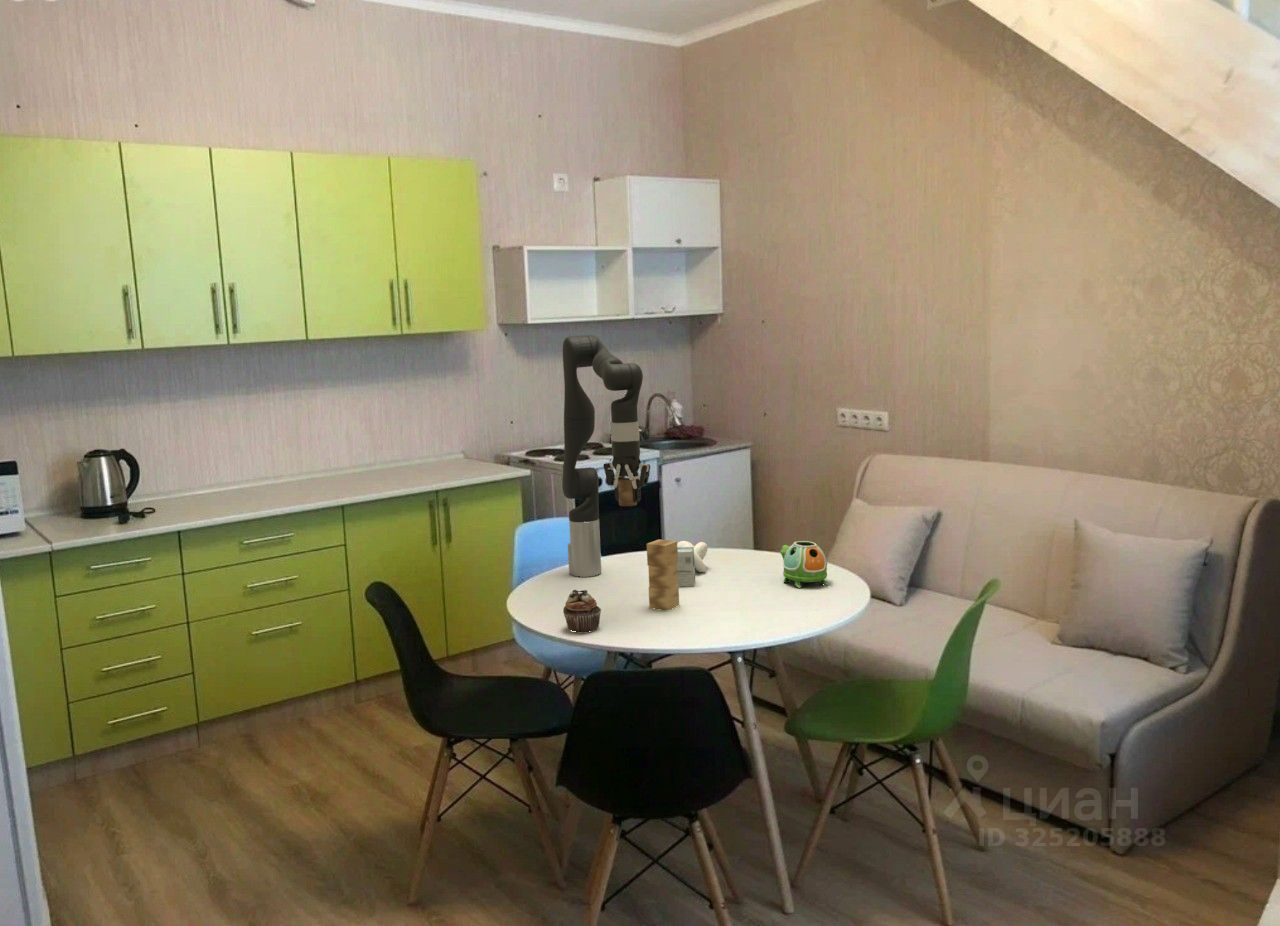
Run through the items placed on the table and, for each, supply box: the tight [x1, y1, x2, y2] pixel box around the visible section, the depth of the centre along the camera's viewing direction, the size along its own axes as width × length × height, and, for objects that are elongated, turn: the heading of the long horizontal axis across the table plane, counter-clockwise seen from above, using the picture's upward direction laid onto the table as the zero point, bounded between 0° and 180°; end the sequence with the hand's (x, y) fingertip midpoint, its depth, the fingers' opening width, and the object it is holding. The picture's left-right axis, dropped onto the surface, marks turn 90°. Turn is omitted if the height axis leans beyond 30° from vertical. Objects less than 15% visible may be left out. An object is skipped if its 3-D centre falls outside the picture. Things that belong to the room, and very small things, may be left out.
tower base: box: [648, 584, 680, 611], centre depth 280 cm, size 6×6×6 cm
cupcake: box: [563, 589, 602, 633], centre depth 264 cm, size 10×10×10 cm
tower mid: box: [647, 564, 678, 589], centre depth 280 cm, size 6×6×6 cm
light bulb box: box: [677, 545, 696, 587], centre depth 303 cm, size 11×7×11 cm, turn 84°
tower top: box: [646, 539, 678, 568], centre depth 279 cm, size 6×6×6 cm
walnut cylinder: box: [618, 477, 638, 507], centre depth 276 cm, size 5×5×7 cm
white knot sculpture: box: [677, 540, 708, 573], centre depth 318 cm, size 11×12×9 cm
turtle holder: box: [780, 540, 828, 589], centre depth 300 cm, size 12×18×12 cm
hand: (628, 501), depth 276 cm, fingers closed on walnut cylinder, 4 cm apart
